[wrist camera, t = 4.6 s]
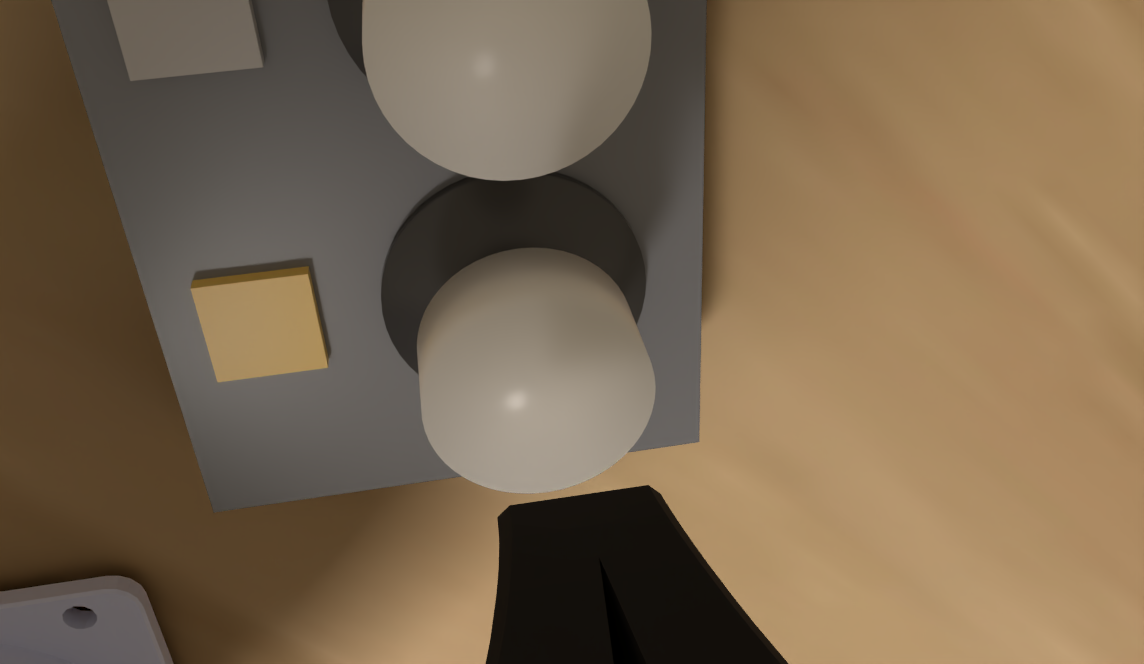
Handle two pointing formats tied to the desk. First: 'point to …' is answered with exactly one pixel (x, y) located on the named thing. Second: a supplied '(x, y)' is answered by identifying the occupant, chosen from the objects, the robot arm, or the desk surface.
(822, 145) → the desk surface
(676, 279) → the switch panel
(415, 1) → the button middle
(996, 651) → the desk surface
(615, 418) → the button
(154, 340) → the desk surface
